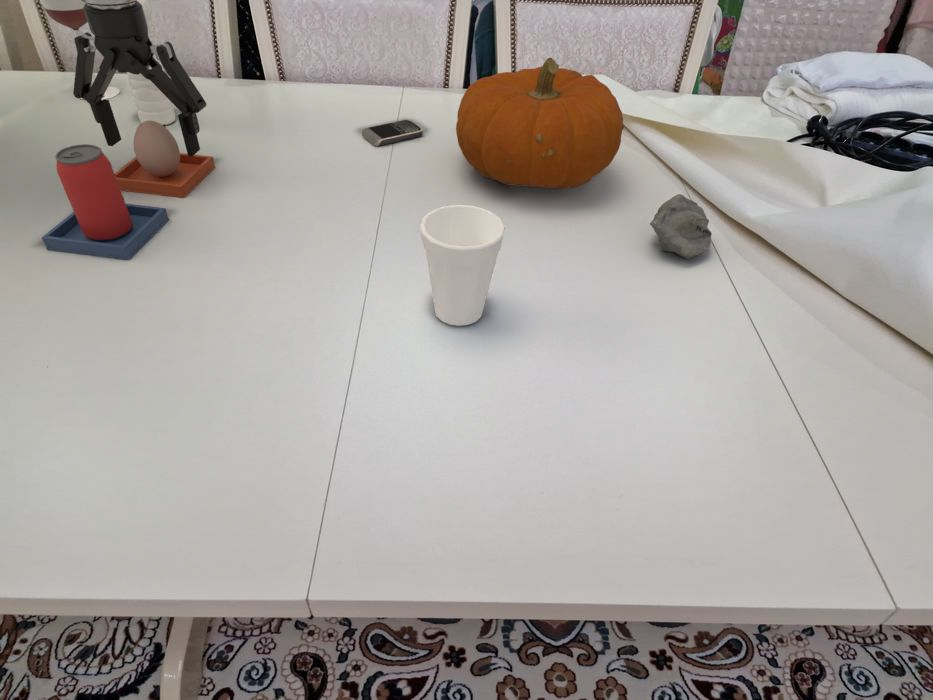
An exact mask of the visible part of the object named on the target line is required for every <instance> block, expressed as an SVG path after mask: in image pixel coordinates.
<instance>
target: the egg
mask: <svg viewBox="0 0 933 700" xmlns="http://www.w3.org/2000/svg"><path fill="white" fill-rule="evenodd" d="M132 146H133V151H134V154H135V157H136V158H137V160H138V162H139V163H140V164H141V166H142V167H143V168H144V169H145V170H146V171H147V172H149V173H151V174H153V175H155V176H159V177H166V176H169V175H171V174H172V173H174V172H175V170H176V169H177V167H178V165H179V162H180V153H181V152H180V148H179V144H178V142H177V140H176V138H175V137H174V135H173V134H172V133H171V132H170V130H169V129H168V128H166V126H164V125H162V124H160V123H158V122H155V121H145V122H143V123H141V122H140V124H139V125H138V126H137V127H136V129H135V132H134V136H133V145H132Z"/></svg>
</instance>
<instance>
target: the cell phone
mask: <svg viewBox="0 0 933 700" xmlns="http://www.w3.org/2000/svg"><path fill="white" fill-rule="evenodd" d="M423 133H424V129H423V128H422V127H421V126H420V125H418V124H417V123H415V122H414V121H412V120H409V119H403V120H397V121H393V122H389V123H384V124H379V125H374V126H370V127H365V128H363V129H362V130H361V136H362V137H363V138H364V139H365V140H367V141H368V142H369V143H371V144H372V145H374V146H376V147H379V146H384V145H388V144H392V143H397V142H401V141H406V140H411V139H415V138H418V137H421V136H423V135H422V134H423Z"/></svg>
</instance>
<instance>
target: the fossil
mask: <svg viewBox="0 0 933 700" xmlns="http://www.w3.org/2000/svg"><path fill="white" fill-rule="evenodd" d="M698 204H699V203H697V202H696V201H694V200H692V199H690V198H687V197H686V196H685V195H683V194H681V193H678V194H676V195H674V196H672V197H671V198H670V199H667V200H666V201H665V202H663V203H662V204H661V205H660V206H659V207H658V209H657V212H656V213H655V214H654V216H653V219H652V220H651V221H650V222H649V225H650V226H651V227H652V229H653V230H654V233H655V234H656V236H657V237H658V247H659V250H661V251H664V252H668V253H676V254H677V255H679V256H681V257H683V258H685V259H690V258H694V257H696V256H698V255H701V254H703V253H705V252H706V251H707V250H708V249H709V248H710V246H711V243H712V233H713V232H712V231H711V230H710V228H708V226H709V222H710V220H709V218H708V217H707V215H706V212H705V210H704V209H703V208H702V206H700V205H698Z"/></svg>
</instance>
